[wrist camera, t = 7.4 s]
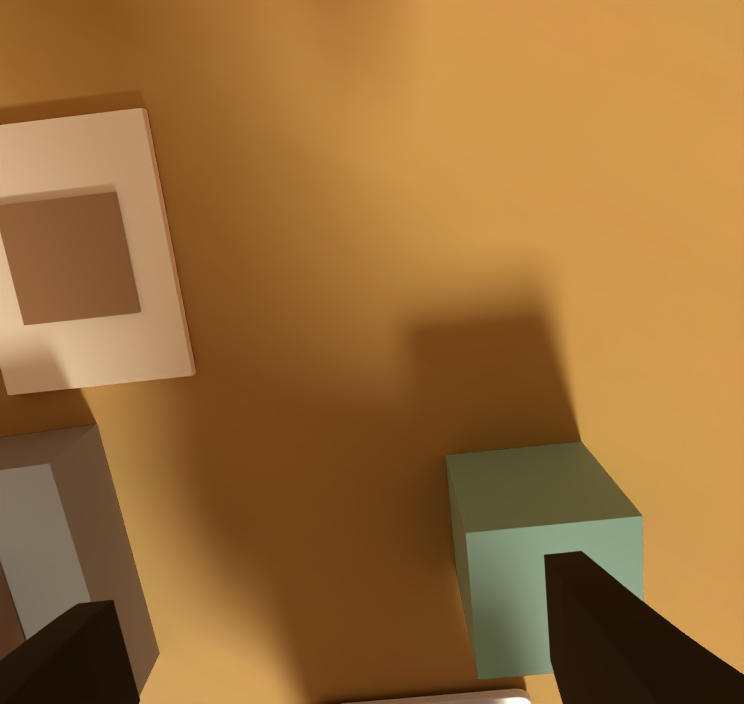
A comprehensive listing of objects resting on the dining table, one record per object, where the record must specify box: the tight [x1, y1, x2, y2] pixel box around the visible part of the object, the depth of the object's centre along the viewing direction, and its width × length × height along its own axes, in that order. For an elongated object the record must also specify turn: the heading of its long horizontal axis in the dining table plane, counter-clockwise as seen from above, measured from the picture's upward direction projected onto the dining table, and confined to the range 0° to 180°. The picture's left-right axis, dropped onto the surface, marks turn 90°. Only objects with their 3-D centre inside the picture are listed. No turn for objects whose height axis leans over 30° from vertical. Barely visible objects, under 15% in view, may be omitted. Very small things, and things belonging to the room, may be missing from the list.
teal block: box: [446, 441, 643, 680], centre depth 19 cm, size 4×4×5 cm
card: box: [0, 108, 196, 395], centre depth 19 cm, size 8×6×1 cm
